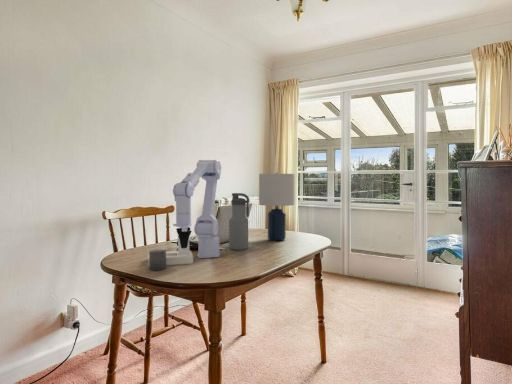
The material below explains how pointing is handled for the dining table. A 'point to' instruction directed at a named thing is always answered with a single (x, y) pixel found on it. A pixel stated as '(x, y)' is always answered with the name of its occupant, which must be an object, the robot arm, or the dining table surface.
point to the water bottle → (239, 223)
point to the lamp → (276, 201)
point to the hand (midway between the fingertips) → (183, 246)
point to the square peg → (182, 250)
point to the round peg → (157, 260)
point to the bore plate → (177, 258)
